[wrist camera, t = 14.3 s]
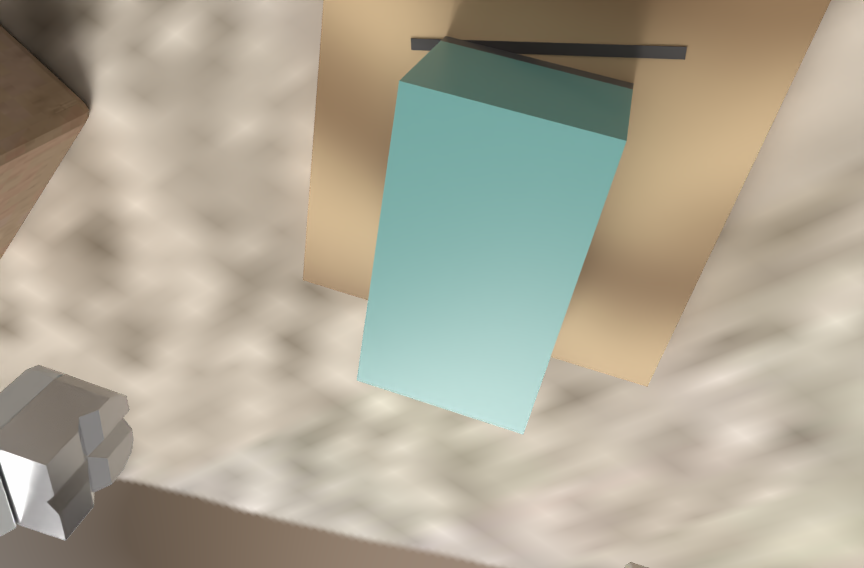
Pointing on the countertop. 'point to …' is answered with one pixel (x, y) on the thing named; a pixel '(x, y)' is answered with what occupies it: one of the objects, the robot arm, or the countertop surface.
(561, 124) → the block
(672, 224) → the oak board
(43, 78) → the wooden block
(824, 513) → the countertop surface
